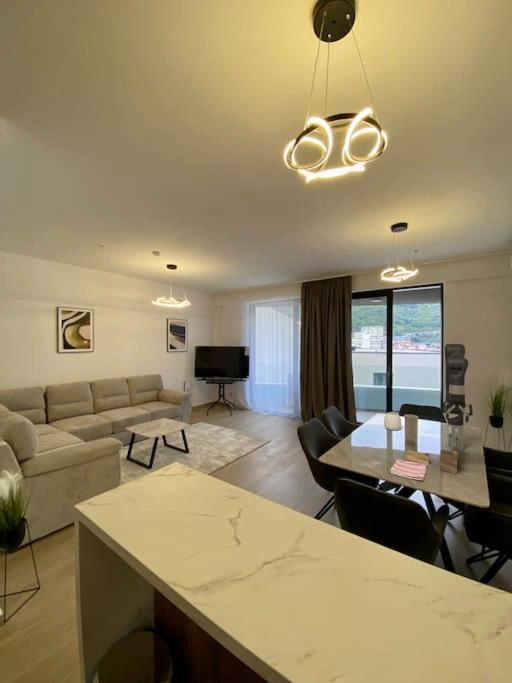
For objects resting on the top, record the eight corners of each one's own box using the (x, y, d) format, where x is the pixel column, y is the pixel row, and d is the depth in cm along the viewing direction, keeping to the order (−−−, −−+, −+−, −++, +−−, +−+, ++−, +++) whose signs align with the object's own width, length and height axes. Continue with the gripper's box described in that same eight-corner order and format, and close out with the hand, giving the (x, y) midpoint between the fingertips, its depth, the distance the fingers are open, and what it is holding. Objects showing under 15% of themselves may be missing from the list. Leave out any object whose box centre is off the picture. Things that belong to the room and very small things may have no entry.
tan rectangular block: (407, 458, 190) (407, 449, 190) (429, 462, 184) (429, 453, 184) (406, 460, 187) (406, 451, 187) (428, 464, 180) (428, 455, 180)
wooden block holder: (440, 464, 180) (440, 441, 180) (457, 467, 176) (457, 443, 176) (440, 470, 171) (440, 446, 171) (457, 474, 167) (457, 449, 167)
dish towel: (389, 475, 167) (388, 468, 167) (397, 461, 186) (397, 455, 186) (423, 483, 157) (423, 476, 157) (428, 468, 176) (428, 462, 176)
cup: (403, 429, 252) (403, 413, 252) (398, 432, 243) (398, 416, 243) (387, 426, 261) (387, 410, 261) (381, 429, 252) (381, 413, 252)
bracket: (459, 469, 172) (459, 435, 172) (445, 467, 176) (444, 433, 176) (458, 454, 195) (457, 424, 195) (445, 452, 199) (445, 422, 199)
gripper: (472, 392, 168) (472, 421, 168) (442, 390, 175) (442, 418, 175) (472, 395, 161) (473, 424, 161) (441, 392, 169) (442, 421, 169)
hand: (457, 421), depth 168 cm, fingers open, 8 cm apart
